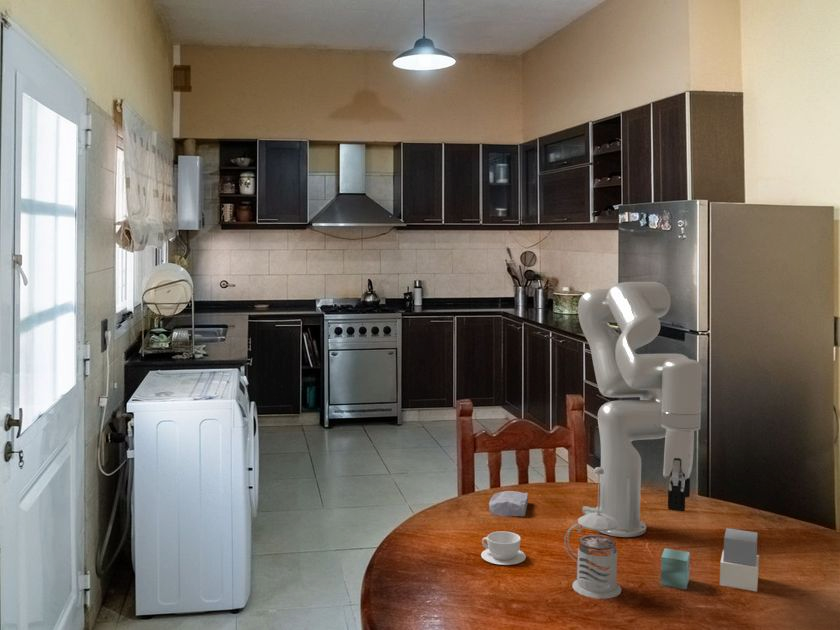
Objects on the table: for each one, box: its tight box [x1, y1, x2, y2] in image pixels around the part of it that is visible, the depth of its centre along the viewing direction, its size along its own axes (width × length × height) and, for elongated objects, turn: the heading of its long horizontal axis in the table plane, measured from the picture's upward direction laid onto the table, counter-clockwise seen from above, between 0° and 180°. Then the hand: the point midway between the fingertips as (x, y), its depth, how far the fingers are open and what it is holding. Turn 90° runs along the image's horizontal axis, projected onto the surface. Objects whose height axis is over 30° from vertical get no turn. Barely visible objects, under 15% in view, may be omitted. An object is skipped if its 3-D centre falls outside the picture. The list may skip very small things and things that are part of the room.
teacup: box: [480, 530, 527, 566], centre depth 173 cm, size 10×10×5 cm
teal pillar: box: [660, 548, 691, 591], centre depth 160 cm, size 5×5×6 cm
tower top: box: [723, 527, 758, 567], centre depth 160 cm, size 6×6×5 cm
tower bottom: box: [719, 549, 760, 592], centre depth 160 cm, size 7×7×5 cm
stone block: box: [488, 490, 529, 517], centre depth 204 cm, size 12×5×10 cm
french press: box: [564, 466, 622, 600], centre depth 157 cm, size 10×12×25 cm
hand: (679, 503), depth 158 cm, fingers open, 9 cm apart
